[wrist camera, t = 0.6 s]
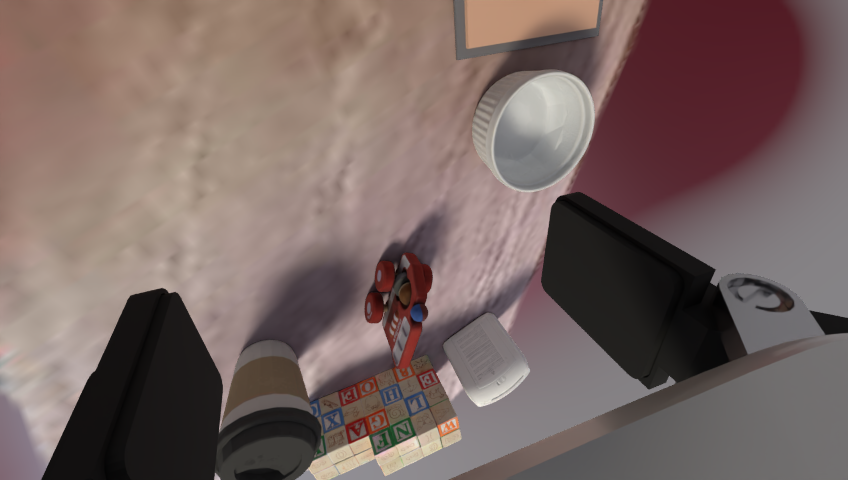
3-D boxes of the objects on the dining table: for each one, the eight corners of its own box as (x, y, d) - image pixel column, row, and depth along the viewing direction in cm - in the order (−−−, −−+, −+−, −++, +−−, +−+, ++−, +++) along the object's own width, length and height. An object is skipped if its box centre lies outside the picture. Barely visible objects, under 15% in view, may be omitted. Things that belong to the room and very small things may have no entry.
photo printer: (449, 356, 65) (483, 418, 55) (437, 344, 63) (471, 407, 53) (498, 320, 65) (541, 377, 55) (488, 307, 63) (531, 363, 53)
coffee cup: (204, 381, 50) (187, 500, 38) (243, 317, 47) (238, 423, 35) (286, 394, 56) (294, 499, 44) (325, 338, 54) (344, 434, 42)
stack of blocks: (311, 427, 62) (321, 507, 52) (298, 406, 59) (306, 486, 49) (432, 376, 67) (463, 440, 57) (427, 352, 63) (458, 417, 53)
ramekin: (575, 84, 48) (616, 95, 42) (527, 182, 53) (559, 203, 47) (490, 44, 42) (526, 50, 36) (446, 158, 47) (471, 179, 41)
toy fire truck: (430, 247, 52) (462, 293, 44) (403, 319, 57) (428, 372, 49) (382, 242, 49) (407, 290, 41) (358, 318, 54) (377, 374, 46)
